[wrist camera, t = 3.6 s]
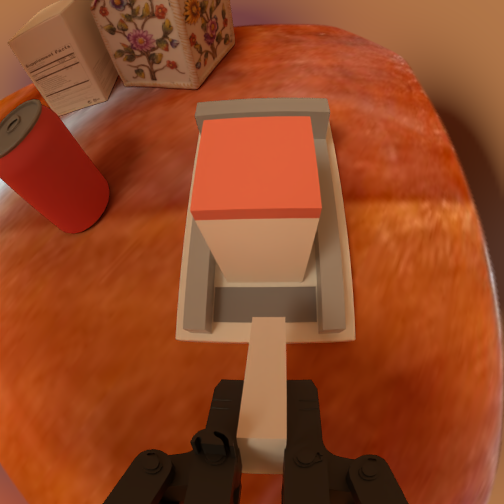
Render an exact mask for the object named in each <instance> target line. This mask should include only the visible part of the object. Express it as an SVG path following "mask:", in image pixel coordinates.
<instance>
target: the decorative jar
mask: <svg viewBox="0 0 504 504" xmlns="http://www.w3.org/2000/svg"><path fill="white" fill-rule="evenodd" d="M90 10H91V13H92V15H93V17H94V20H95V22H96V24H97V27H98V29H99V31H100V34H101V37H102V39H103V41H104V43H105V46H106V48H107V50H108V53H109V55H110V57H111V59H112V61H113V64H114V66H115V68H116V70H117V72H118V74H119V76H120V78H121V80H122V82H123V84H124V86H125V87H127V86H138V87H162V88H179V89H192V90H194V89H198V88H199V87H200V86H201V85H202V83H203V82H204V80H205V79H206V78H207V77H208V76H209V74H210V73H211V72H212V71H213V69H214V68H215V67H216V66H217V64H218V63H219V62H220V61H221V60H222V59H223V57H224V56H225V55H226V54H227V53H228V51H229V50H230V49H231V48H232V47H233V46H234V44H235V36H234V28H233V20H232V13H231V7H230V0H93V1H92V4H91V6H90Z"/></svg>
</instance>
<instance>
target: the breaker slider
mask: <svg viewBox="0 0 504 504" xmlns="http://www.w3.org/2000/svg"><path fill="white" fill-rule="evenodd" d="M321 210H322V204H321V194H320V185H319V177H318V168H317V161H316V153H315V146H314V138H313V132H312V125H311V118H310V116H273V117H244V118H227V119H214V120H204V121H203V126H202V132H201V138H200V144H199V151H198V157H197V164H196V170H195V177H194V184H193V191H192V199H191V207H190V212H191V214H192V216H193V218H194V220H195V222H196V224H197V226H198V227H199V229H200V231H201V233H202V235H203V237H204V239H205V241H206V243H207V245H208V247H209V249H210V250H211V252H212V254H213V256H214V258H215V260H216V262H217V264H218V265H219V267H220V269H221V271H222V273H223V275H224V277H225V278H226V280H227V282H228V283H268V282H303V278H304V275H305V271H306V267H307V264H308V260H309V256H310V253H311V249H312V245H313V241H314V238H315V234H316V230H317V226H318V222H319V218H320V214H321Z"/></svg>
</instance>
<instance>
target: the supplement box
mask: <svg viewBox="0 0 504 504" xmlns="http://www.w3.org/2000/svg"><path fill="white" fill-rule="evenodd" d="M92 1H93V0H60V1H58V2H56V3H54V4H52V5H49V6H48V7H46V8H44V9H42V10H41V11H39V12H38V13H37V14H36V15H35V16H34V17H33V18H32V19H31V20H30V21H28V22H27V24H25V25H24V26H23V27H22V28H21V29H20V30H19V31H18V32H17V34H15V35H14V36H13V38H11V40H9V42H8V44H9V46H10V48H11V49H12V51H13V52H14V54H15V56H16V57H17V59H18V60H19V62H20V63H21V65H22V66H23V68H24V70H25V71H26V72H27V74H28V76H29V77H30V79H31V80H32V82H33V83H34V85H35V86H36V88H37V89H38V91H39V92H40V93H41V95H42V96H43V98H44V99H45V101H46V102H47V103H48V105H49V106H50V108H51V109H52V110H53V111H54V112H55V113H56V114H57V115H58V116H61V115H64V114H67V113H70V112H73V111H76V110H79V109H82V108H85V107H88V106H91V105H94V104H98V103H101V102H104V101H107V100H108V97H109V95H110V93H111V90H112V88H113V86H114V84H115V81H116V79H117V77H118V75H119V74H118V72H117V70H116V68H115V66H114V64H113V61H112V59H111V57H110V55H109V53H108V50H107V48H106V46H105V43H104V41H103V39H102V37H101V34H100V31H99V29H98V27H97V24H96V22H95V20H94V17H93V15H92V13H91V10H90V6H91V4H92Z"/></svg>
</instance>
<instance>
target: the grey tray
mask: <svg viewBox="0 0 504 504" xmlns="http://www.w3.org/2000/svg"><path fill="white" fill-rule="evenodd" d="M273 116H310V118H311V125H312V132H313V138H314V146H315V153H316V161H317V168H318V177H319V185H320V194H321V204H322V210H321V214H320V218H319V222H318V226H317V230H316V234H315V238H314V241H313V245H312V249H311V253H310V256H309V260H308V264H307V267H306V271H305V275H304V278H303V282H268V283H228V282H227V280H226V278H225V277H224V275H223V273H222V271H221V269H220V267H219V265H218V264H217V262H216V260H215V258H214V256H213V254H212V252H211V250H210V249H209V247H208V245H207V243H206V241H205V239H204V237H203V235H202V233H201V231H200V229H199V227H198V226H197V224H196V222H195V220H194V218H193V216H192V214H191V212H190V207H191V199H192V191H193V184H194V177H195V170H196V164H197V157H198V151H199V144H200V138H201V132H202V126H203V121H204V120H214V119H227V118H244V117H273ZM329 116H330V109H329V105H328V101H327V99H325V98H255V99H236V100H222V101H210V102H200V103H197V108H196V113H195V119H196V122H197V125H198V129H199V138H198V144H197V150H196V156H195V162H194V169H193V175H192V182H191V189H190V196H189V204H188V211H187V219H186V227H185V236H184V245H183V254H182V264H181V274H180V285H179V297H178V309H177V323H176V340H179V341H188V342H208V343H239V344H249V340H250V333H251V325H252V317H285V328H286V344H297V343H328V342H348V341H353V340H355V318H354V301H353V287H352V275H351V263H350V253H349V244H348V235H347V227H346V219H345V211H344V204H343V197H342V190H341V183H340V177H339V171H338V165H337V159H336V154H335V148H334V143H333V138H332V133H331V128H330V123H329Z"/></svg>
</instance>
